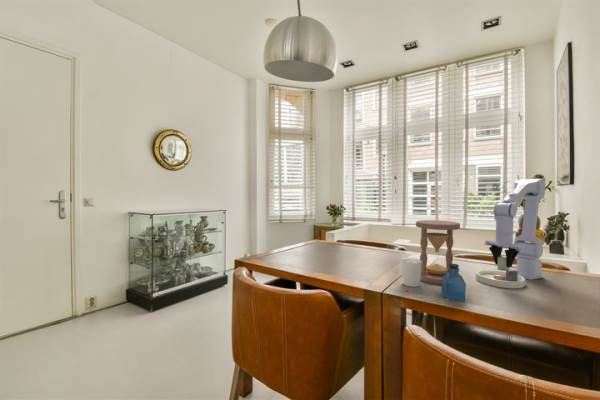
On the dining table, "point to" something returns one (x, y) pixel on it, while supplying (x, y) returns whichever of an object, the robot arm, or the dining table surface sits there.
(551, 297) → the dining table surface
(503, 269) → the pale green rounded block
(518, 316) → the dining table surface
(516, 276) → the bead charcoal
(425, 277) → the hourglass
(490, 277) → the groove tray
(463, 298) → the perfume bottle
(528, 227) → the robot arm
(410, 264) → the white cup
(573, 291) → the dining table surface
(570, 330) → the dining table surface
